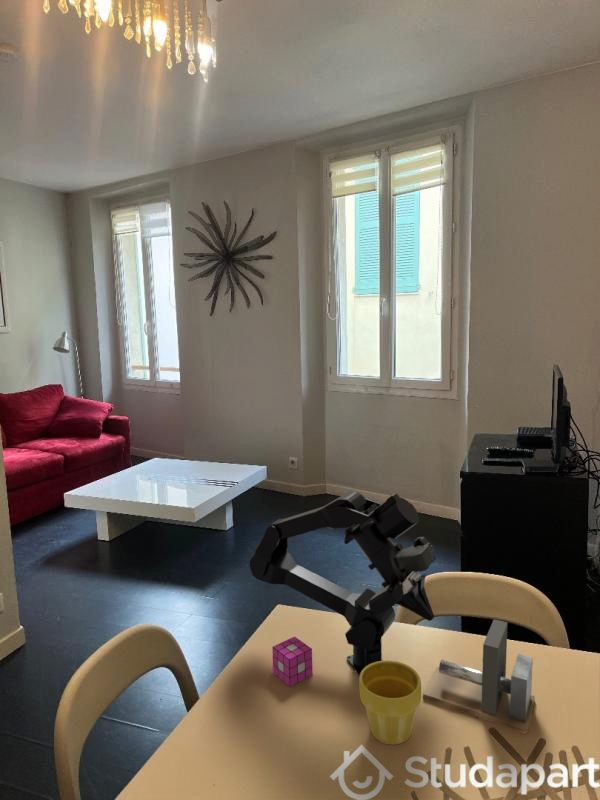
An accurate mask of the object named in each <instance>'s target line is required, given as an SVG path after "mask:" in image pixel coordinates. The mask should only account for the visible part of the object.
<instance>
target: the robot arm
mask: <svg viewBox="0 0 600 800" xmlns="http://www.w3.org/2000/svg"><path fill="white" fill-rule="evenodd" d="M370 519H372V521H369V520H370ZM419 521H420V518H419V513H418V511H417V509H416V508H415V505H413V504H412V503H411V502H409V501H408V500H407V499H405V498H403V497H401V496H399V494H398V493H396V492H395V493H393V494H392V495H390V496H389V497H388V498H387V499H386V500H385V502H383V503H381V502H378V501H374V500H372V499H370V498H367V497H364V496H363V494H361V493H360V492H358V491H356V490H353V491H352V490H351V491H349V492H346V493H345V494H343V495H341V496H339V497H338V498H336V499H334V500H333V501H331V502H329V503H327V504H325V505H324V506H321V507H318V508H314V509H311V510H308V511H305V512H302V513H299V514H295V515H292V516H290V517H285V518H279V519H277V520H276V521H274V522H273V523H270V524H268V526H267V527H266V529H265V532H264V535H263V537H262V540H261V541H260V543H259V544H258V546H257V548H255V551H254V555H253V556H252V557H251V558H250V560H249V569H250V572H251V575H252V577H253V578H254V579H256V580H257V581H259V582H262V583H265V584H269V585H277V586H278V585H280V586H281V585H282V586H286V587H288V588H290V589H292V590H294V591H296V592H298V593H300V594H302V595H303V596H306V597H308V598H309V599H311V600H313V601H315V602H317V603H318V604H320V605H323V606H324V607H326V608H328V609H329V610H332V611H333V612H336V613H337V614H339V615H341V616H342V617H344V619H345V620H346V621H347V623H348V625H349V626H350V627H349V628H348V630H346V632H345V633H344V636H345V638H346V642H347V644H348V645H350V646H352V654H351V655H348V656H346V660H347V662H348V663H349V665H350V666H351V667H352V668H353V670H354V671H355V673H356V674H357V675H358V676H359V677H360V673H361V671H362V670H363V669H364V668H365V667H366V666H368V665H369V664H371V663H374V662H378V661H384V659H383V657H382V652H383V651H382V649H383V648H382V644H383V643H382V637H383V636H384V635H385V634H386V632H387V631H388V630H389V629H390V627H391V625H392V624H393V623H394V622H395V619H396V611H395V609H394V606H396V605H398V606H401V607H402V608H405V609H407V610H409V611H411V612H413V614H416V615H417V616H419V617H422V618H423V619H424V620H427V621H428V622H430V621H433V620H434V618H435V614H434V612H433V610H432V609H433V608H432V606H431V603H430V601H429V598H428V595H427V593H426V588H425V582H426V577H427V573H425V571H427V570H428V569H429V568H430V566H431V565H432V564H433V563H434V562H435V561H436V559H437V558H436V556H435V555H434V554H433V553H432V552H433V551H434V550H435V547H434V546H433V545H432V544H431V542H430V541H429V540H428V539H427V538H426V537H425V536H419V537H417V538H416V539H415V540H414V542H413V545H410V546H409V547H406V548H405V547H404V546H403V544H402V543H399V542H396V543H394V542H393V541H392V539H393V540H394V539H397V538H398V537H400V536H401V535H403V534H404V533H406V532H407V531H409V530H410V529H411V528H413V527H414V526H415V525H417V524H418V523H419ZM354 525H356V526H355V527H354ZM325 528H326V529H327V528H328V529H332V530H334V529H335V530H336V529H345V531H344V532H345V533H344V534H345V535H344V542H343V544H345V545H348V544H349V543H350V542H353V540H354V541H355V543H356V544H357V546H358V547H359V548H360V550H361V551H362V552H363V554H364V555H365V557H366V558H367V559H368V561H369V562H370V563H369V565H368V566H367V567H368V568H369V569H370V571H373V570H374V569H375V570H376V571H377V572H378V574H379V575H380V577H381V578H382V580H383V582H382V583H381V586H382V587H383V588H382V589H381V590H378V591H377V592H374V591H373V590H372V589H370V588H365V590H363V591H362V593H354V592H352V591H350V590H348V589H346V588H344V587H342V586H340V585H338V584H336V583H334V582H332V581H330V580H328V579H326V578H324V577H323V576H321V575H318V574H317V573H315V572H313V571H311V570H309V569H307V568H305V567H303V566H301V565H299V564H298V563H296V561H295V560H294V558H293V556H292V555H291V553H289V552H288V549H289V547H290V539H289V538H292V537H295V536H299V535H303V534H306V533H309V532H313V531H316V530H319V529H325ZM419 572H424V573H423V574H420V573H419Z"/></svg>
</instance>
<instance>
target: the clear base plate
mask: <svg viewBox="0 0 600 800" xmlns="http://www.w3.org/2000/svg"><path fill="white" fill-rule="evenodd" d="M510 695H511V694H507V693H504V692H503V694H502V697H501V700H500V703H499V706H498V709H497V713H496V715H494V714H491V713H488V712H485V711H482V710H481V706H482V686H481V685H478V684H474V683H471V682H468V681H464V680H461V679H458V678H455V677H451V676H448V675H445V674H441V673H439V666H437V667H436V668H435V670H434V672H433V674H432V675H431V678H430V680H429V681H428V683H427V685H426V687H425V689H424V691H423V693H422V699H423V700H426V701H429V702H431V703H434V704H437V705H441V706H442V707H443V706H444V707H446V708H449V709H453V710H455V711H458V712H462V713H464V714H466V715H469V716H470V715H471V716H474V717H477V718H479V719H483V720H485V721H489V722H492V723H495V724H498V725H500V726H504V727H507V728H510V729H513V730H516V731H518V732H521V733H524V734H528V732H529V727H530V723H531V718H532V714H533V709H534V705H535V700H536V695H532V694H531V701H530V705H529V709H528V713H527V718H526V722H525V723H523V722H520V721H517V720H513V719H510Z"/></svg>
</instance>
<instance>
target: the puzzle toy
mask: <svg viewBox="0 0 600 800" xmlns="http://www.w3.org/2000/svg"><path fill="white" fill-rule="evenodd" d="M271 650H272V652H271V653H272V673H273V674H274V675H275V676H277V678H279V679H280V680H281V681H283V682H284V683H285V684H286V685H287V686H289V687H292V686H294V685H296V684H298V683H300V682H302V681H303V680H306V679H308V678H309V677H311V676H313V647H310V646H309V645H307V644H306V643H305V642H304V641H302V640H300V639H299V638H297V637H296V636H292V637H290V638H288V639H286V640H283V641H282V642H280V643H277V644H275V645H273V646H272V649H271Z"/></svg>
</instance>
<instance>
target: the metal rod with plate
mask: <svg viewBox="0 0 600 800" xmlns="http://www.w3.org/2000/svg"><path fill="white" fill-rule="evenodd" d="M533 661H534V658H533V657H531V656H528V655H523V654H521V653H520V654H519V653H518V654H517V656H516V659H515V662H514V665H513V669H512V673H511V675H510V678H507V677H506V678H504V677H501V678H500V683H499V691H501V692H504V693H507V694H511V695H510V719H513V720H517V721H520V722H523V723H525V722H526V718H527V713H528V709H529V705H530V701H531V695H532V687H533V686H532V683H533ZM438 667H439V673H441V674H445V675H448V676H451V677H455V678H458V679H461V680H464V681H468V682H471V683H474V684H478V685H481V686H482V671H483V670H479V669H476V668H473V667H470V666H466V665H462V664H459V663H455V662H451V661H448V660H445V659H440V661H439V666H438Z"/></svg>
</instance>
